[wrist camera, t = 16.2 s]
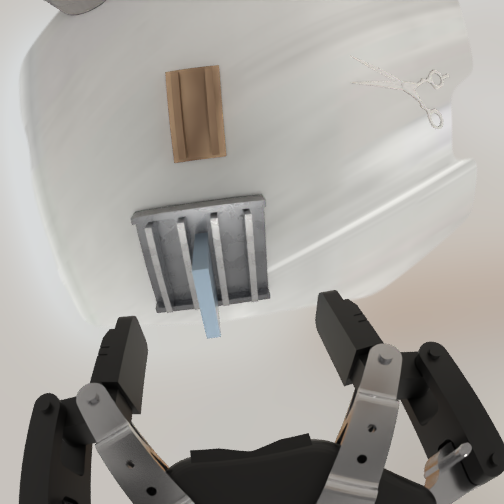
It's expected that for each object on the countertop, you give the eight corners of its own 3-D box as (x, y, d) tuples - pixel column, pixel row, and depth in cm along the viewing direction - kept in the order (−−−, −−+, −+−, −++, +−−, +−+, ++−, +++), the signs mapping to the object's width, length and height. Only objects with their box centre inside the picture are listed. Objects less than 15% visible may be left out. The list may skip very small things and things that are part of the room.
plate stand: (175, 161, 30) (172, 165, 28) (166, 73, 25) (162, 69, 23) (225, 155, 31) (227, 158, 28) (218, 67, 26) (219, 61, 23)
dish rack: (159, 302, 38) (155, 319, 35) (135, 211, 32) (127, 222, 29) (266, 288, 40) (272, 304, 37) (261, 194, 34) (268, 203, 30)
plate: (205, 293, 38) (207, 338, 30) (194, 234, 34) (191, 270, 26) (217, 292, 38) (221, 336, 30) (207, 232, 34) (208, 268, 26)
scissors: (448, 132, 33) (348, 105, 30) (445, 132, 33) (346, 105, 30) (449, 74, 28) (349, 34, 25) (446, 74, 29) (346, 35, 26)
